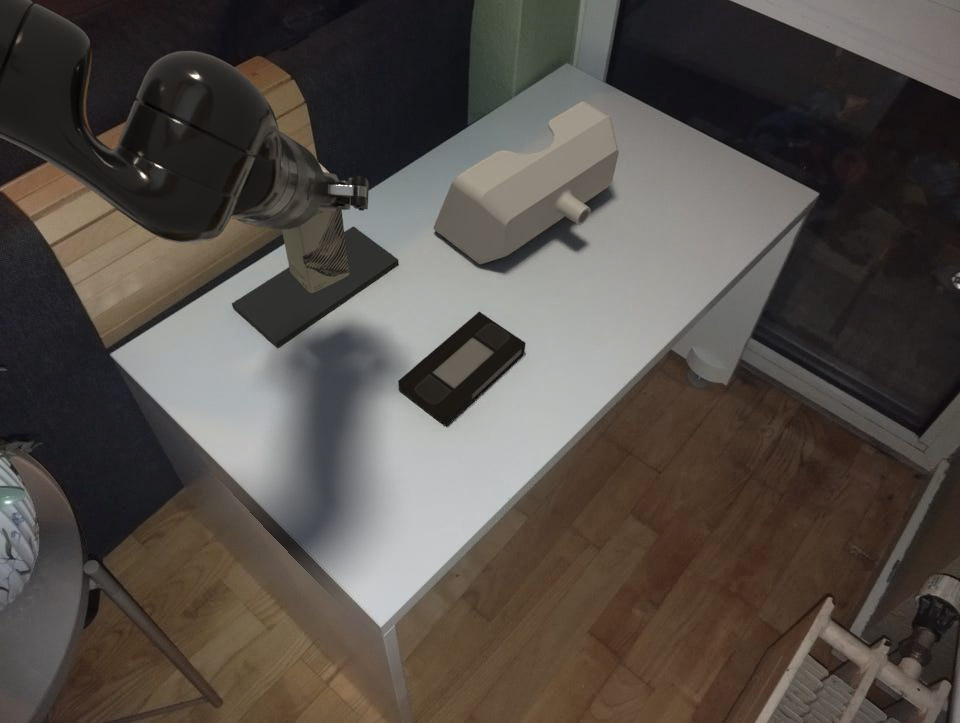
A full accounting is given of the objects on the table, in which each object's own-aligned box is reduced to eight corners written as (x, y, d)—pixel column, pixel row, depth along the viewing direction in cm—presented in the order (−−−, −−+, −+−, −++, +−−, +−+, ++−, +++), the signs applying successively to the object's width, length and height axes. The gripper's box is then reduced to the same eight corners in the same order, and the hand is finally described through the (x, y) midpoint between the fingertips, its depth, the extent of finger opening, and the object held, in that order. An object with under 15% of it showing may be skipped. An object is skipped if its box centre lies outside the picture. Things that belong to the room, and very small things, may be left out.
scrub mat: (277, 348, 93) (276, 343, 92) (233, 308, 96) (231, 303, 96) (398, 264, 102) (398, 259, 101) (354, 231, 106) (353, 226, 105)
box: (310, 296, 81) (291, 202, 71) (289, 272, 83) (267, 178, 73) (352, 274, 84) (340, 180, 73) (330, 251, 86) (315, 157, 75)
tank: (513, 296, 99) (521, 224, 89) (431, 232, 106) (429, 159, 96) (634, 209, 110) (653, 136, 100) (553, 156, 117) (563, 83, 107)
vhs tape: (525, 353, 94) (526, 343, 92) (446, 427, 87) (446, 417, 85) (478, 321, 97) (479, 311, 95) (398, 390, 90) (397, 381, 88)
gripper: (359, 135, 60) (385, 162, 77) (175, 125, 60) (241, 154, 77) (356, 232, 61) (382, 238, 78) (175, 222, 61) (240, 230, 78)
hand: (312, 196), depth 77 cm, fingers closed on box, 6 cm apart
